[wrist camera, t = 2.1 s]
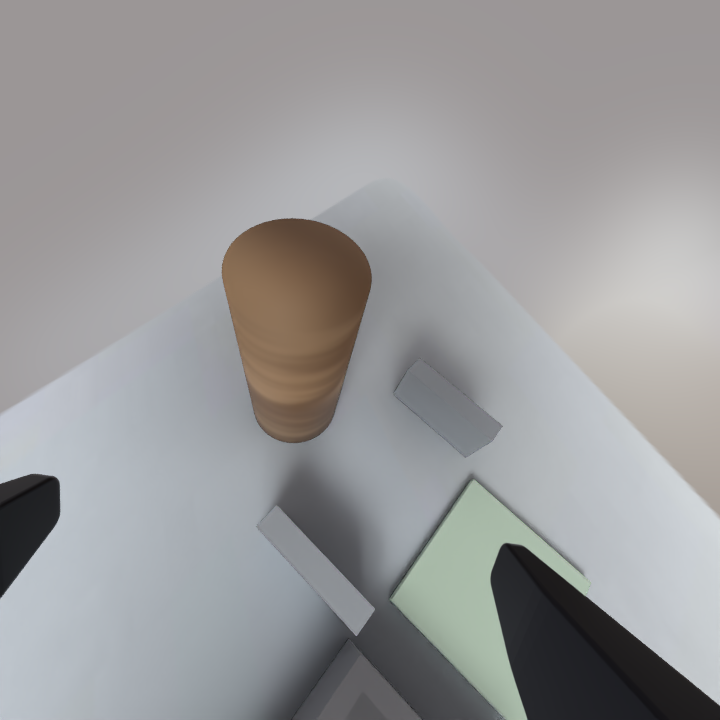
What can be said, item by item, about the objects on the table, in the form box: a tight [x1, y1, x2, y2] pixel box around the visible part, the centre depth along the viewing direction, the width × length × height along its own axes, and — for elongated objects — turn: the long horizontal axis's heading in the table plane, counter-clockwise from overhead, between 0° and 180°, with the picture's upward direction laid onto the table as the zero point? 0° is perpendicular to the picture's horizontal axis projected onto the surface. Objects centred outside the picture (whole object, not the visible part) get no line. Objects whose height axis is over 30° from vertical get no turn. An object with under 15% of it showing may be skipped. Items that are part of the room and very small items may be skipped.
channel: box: [256, 358, 503, 636], centre depth 20 cm, size 12×6×4 cm, turn 138°
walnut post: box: [222, 218, 372, 443], centre depth 18 cm, size 5×5×12 cm
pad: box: [389, 479, 591, 720], centre depth 19 cm, size 8×8×1 cm
